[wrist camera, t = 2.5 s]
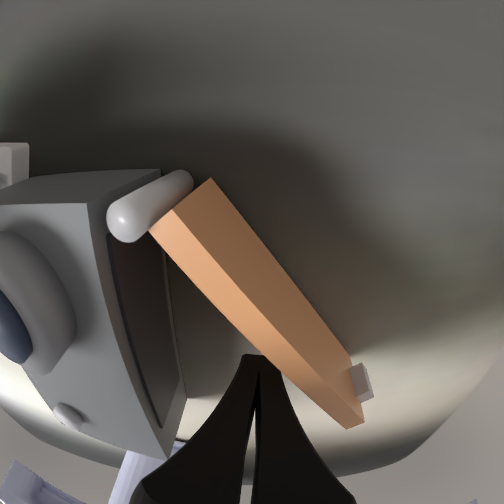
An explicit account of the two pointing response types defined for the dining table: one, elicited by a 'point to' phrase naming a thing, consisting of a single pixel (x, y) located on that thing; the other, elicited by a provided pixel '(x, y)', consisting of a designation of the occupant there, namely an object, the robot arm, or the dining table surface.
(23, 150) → the security camera
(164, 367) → the housing
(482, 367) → the dining table surface
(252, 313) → the hatch
